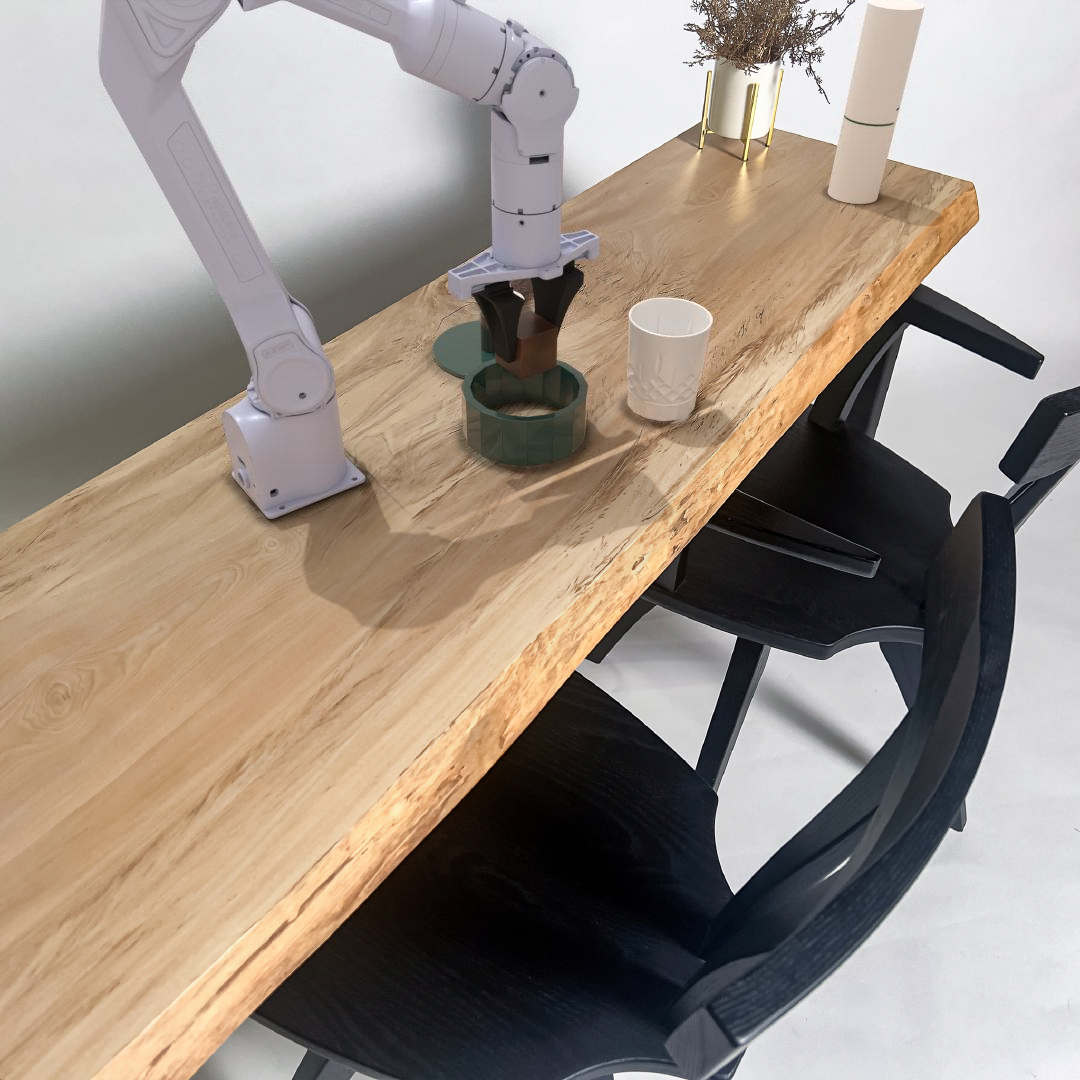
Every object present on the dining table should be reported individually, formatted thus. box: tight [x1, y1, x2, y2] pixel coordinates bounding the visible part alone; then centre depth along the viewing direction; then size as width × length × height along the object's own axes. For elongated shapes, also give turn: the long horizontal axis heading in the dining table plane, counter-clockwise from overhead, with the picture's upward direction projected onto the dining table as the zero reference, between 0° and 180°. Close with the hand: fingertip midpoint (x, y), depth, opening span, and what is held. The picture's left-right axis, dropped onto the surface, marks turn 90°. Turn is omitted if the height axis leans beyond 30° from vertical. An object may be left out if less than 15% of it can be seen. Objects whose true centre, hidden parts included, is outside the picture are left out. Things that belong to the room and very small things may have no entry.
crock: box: [460, 358, 589, 467], centre depth 91 cm, size 12×12×5 cm
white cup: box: [626, 296, 714, 425], centre depth 94 cm, size 8×8×10 cm
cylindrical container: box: [827, 0, 926, 205], centre depth 134 cm, size 7×7×25 cm
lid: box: [432, 310, 495, 380], centre depth 103 cm, size 13×13×5 cm
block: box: [495, 309, 559, 380], centre depth 87 cm, size 4×4×4 cm
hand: (525, 350), depth 87 cm, fingers closed on block, 4 cm apart
